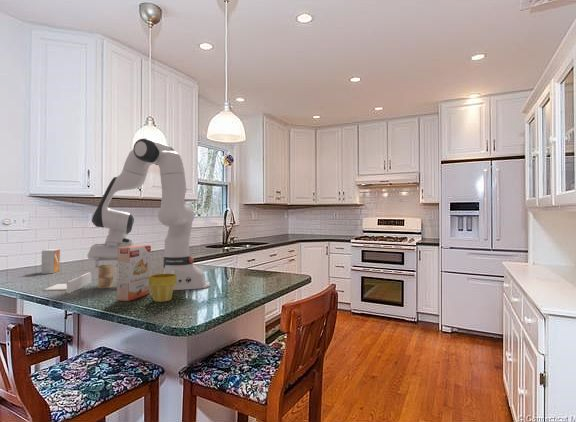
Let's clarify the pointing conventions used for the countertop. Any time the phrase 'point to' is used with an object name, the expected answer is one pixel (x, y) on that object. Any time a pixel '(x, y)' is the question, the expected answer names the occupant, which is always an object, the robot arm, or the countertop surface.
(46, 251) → the small box
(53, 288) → the pad
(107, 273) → the maple block
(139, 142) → the robot arm
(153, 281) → the plant pot
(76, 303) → the countertop surface
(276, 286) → the countertop surface
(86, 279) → the low wall
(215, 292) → the countertop surface
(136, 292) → the cracker box
